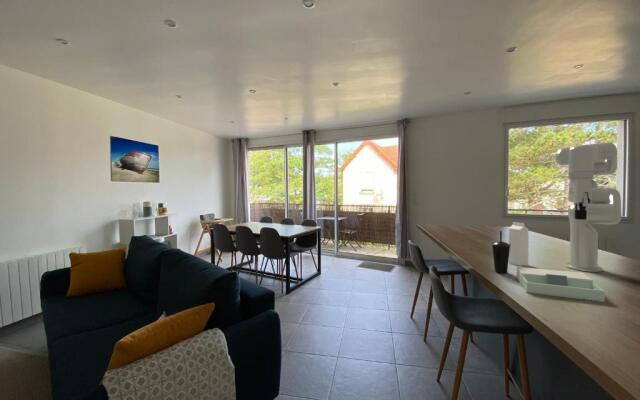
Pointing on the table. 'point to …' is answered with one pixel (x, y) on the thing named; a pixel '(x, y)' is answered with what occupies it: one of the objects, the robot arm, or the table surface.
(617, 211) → the robot arm
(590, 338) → the table surface
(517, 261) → the milk
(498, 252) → the drinking cup
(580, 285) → the box
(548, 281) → the slate tile
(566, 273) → the cream rectangular block
